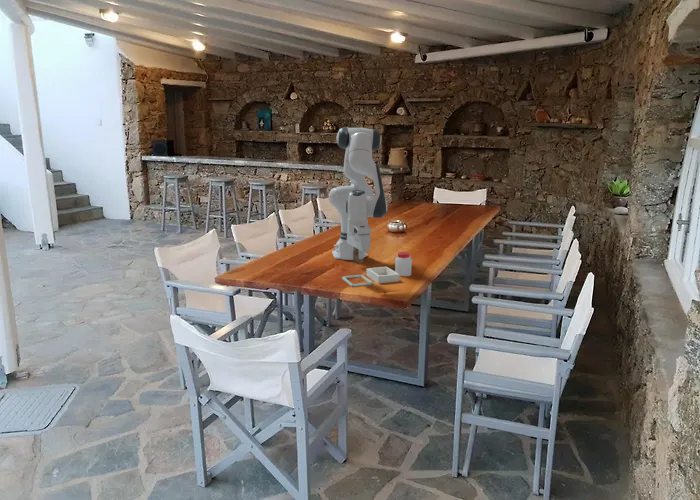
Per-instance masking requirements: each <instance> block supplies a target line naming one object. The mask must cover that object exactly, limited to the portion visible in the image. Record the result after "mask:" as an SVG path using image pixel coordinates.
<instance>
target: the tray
mask: <svg viewBox="0 0 700 500" xmlns="http://www.w3.org/2000/svg"><path fill="white" fill-rule="evenodd" d="M355 278H362V279H363V280H364V281H366V282H363V283H361V282H360V283H353V282H351V281H350V280H348V279H355ZM341 279H342V280H343V281H344V282H345V283H347V284H348V285H349V286H351V288H353V287H363V286H373V285H374V282H373V281H372V280H371V279H369V278H367V277H366V276H365V275H363V274H354V275H345V276H341Z"/></svg>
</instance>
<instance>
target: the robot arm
mask: <svg viewBox="0 0 700 500" xmlns="http://www.w3.org/2000/svg"><path fill="white" fill-rule="evenodd" d="M335 138H336V143H337V146H338V147H339V149H343V150H345V152H344V153H345V154H344V160H343V169H342V170H343V175H344V176H345V178H347V179H349V180H350V185H340V186H337V187H336V186H335V187H333V188H331V189H330V191H329V193H328V200H329V203H330V204H331V206H333V207H334V208H335V209H336V210H337V212H338V215H339V217H340V230H341V231H340V233H339V239H338V240H337V242H336V244H333V248H334V250H332V251H331V254H332V255H333V257H334V259H337V260H343V261H344V260H345V261H346V260H347V261H353V247H355V248H357V249H358V251H359V255H358V258H359V259H363V260H364V259H365V258H366V257H368V256H369V255H368V253H366V252H369V251H370V250H371V234H372V228H371V227H370V226H369V224H368V223H369V221H368V220H369V219H368V218H377V219H381V218H382V217H384V216H386V214H387V212H388V201H387V199H386V196H385V191H384V184H383V177H382V174H381V169H380V166H379V165H378V163H376V162H375V161H374V159H373V152H376V151H377V150H378V149H380V146H381V144H382V136H381V133H380V131H379V130H377V129H375V128H374V129H373V128H372V129H371V128H366V127H347V126H345V127H341V128H339V129H338V132H337V134H336V137H335ZM366 177H367V178H369V179H371V180H372V182H373V185H374V189H373V188H372V187H371V186H370V185H369V184H368V182H367V180H366ZM374 192H375V195H374Z"/></svg>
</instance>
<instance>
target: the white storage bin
mask: <svg viewBox="0 0 700 500" xmlns="http://www.w3.org/2000/svg"><path fill="white" fill-rule="evenodd" d="M365 270H366V271H365V272H366V276H367V277H368V278H370V280H373V281H374V283H375V282H376V283H377V284H384V283H385V284H386V283H393V282H400V276H399V274H398V273H396V272H395V270H393V269H391V268H389V267H388V266H377V267H369V268H366V269H365Z"/></svg>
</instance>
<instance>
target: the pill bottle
mask: <svg viewBox="0 0 700 500" xmlns="http://www.w3.org/2000/svg"><path fill="white" fill-rule="evenodd" d="M394 260H395V261H394V262H395V263H394V266H395V267H394V271H395V272H396V273H398V274H399V277H409V276H411V275H412V267H413V266H412V263H413V262H412V261H413V260H412V257H411V256H410V252H407V251H399V252H397V256H396V257H395V259H394Z"/></svg>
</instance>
